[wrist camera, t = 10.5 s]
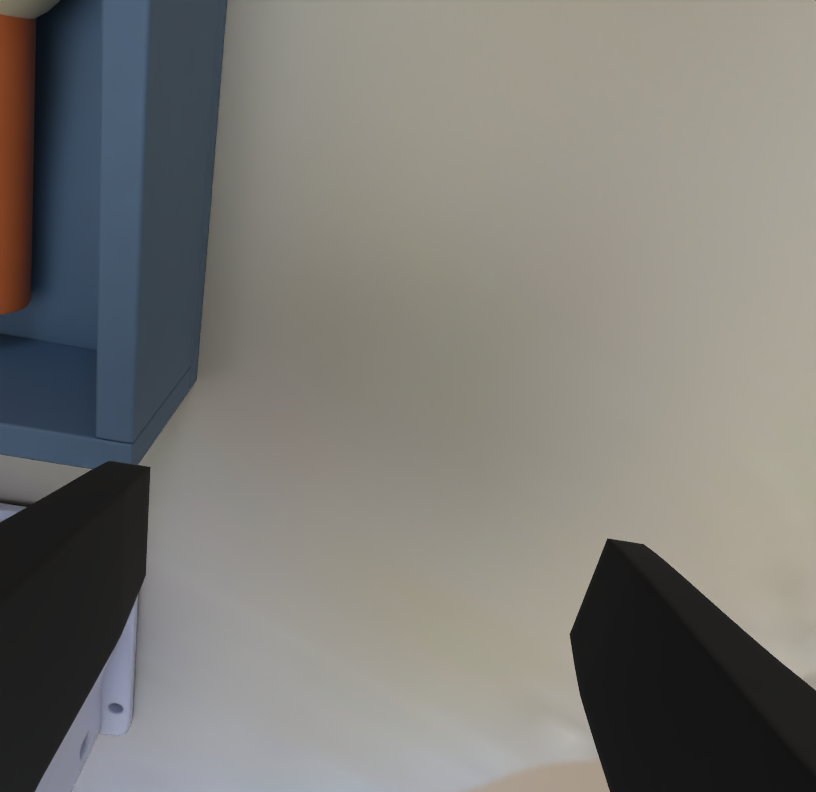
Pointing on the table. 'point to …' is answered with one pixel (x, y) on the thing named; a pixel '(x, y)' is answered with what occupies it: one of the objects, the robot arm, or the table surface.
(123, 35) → the wash tub
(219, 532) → the table surface
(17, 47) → the bottle brush
